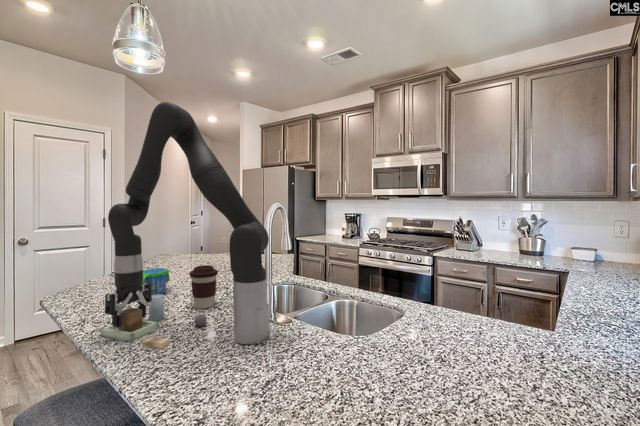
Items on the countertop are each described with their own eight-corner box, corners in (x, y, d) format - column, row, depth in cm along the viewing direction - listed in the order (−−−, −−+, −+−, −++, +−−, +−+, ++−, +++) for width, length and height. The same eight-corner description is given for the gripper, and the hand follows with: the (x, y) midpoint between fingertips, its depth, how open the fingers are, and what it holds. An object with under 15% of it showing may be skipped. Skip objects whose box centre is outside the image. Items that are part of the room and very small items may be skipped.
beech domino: (169, 345, 92) (169, 338, 92) (162, 350, 89) (162, 343, 89) (149, 344, 93) (149, 337, 93) (142, 348, 90) (142, 341, 90)
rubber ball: (208, 324, 107) (208, 313, 106) (201, 328, 103) (201, 317, 103) (199, 323, 108) (199, 312, 108) (192, 327, 104) (191, 316, 104)
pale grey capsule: (167, 318, 113) (166, 294, 112) (156, 322, 108) (155, 298, 108) (156, 316, 114) (156, 293, 114) (145, 321, 110) (145, 297, 110)
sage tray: (158, 328, 103) (158, 322, 103) (131, 341, 94) (130, 334, 94) (129, 324, 107) (129, 317, 107) (100, 335, 98) (100, 329, 98)
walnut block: (142, 328, 102) (142, 309, 102) (129, 333, 98) (129, 313, 98) (131, 326, 104) (130, 307, 103) (118, 331, 99) (117, 312, 99)
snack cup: (149, 300, 133) (149, 275, 133) (130, 297, 137) (129, 273, 136) (178, 290, 148) (178, 267, 147) (160, 288, 151) (159, 266, 151)
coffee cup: (184, 307, 123) (183, 268, 123) (205, 300, 132) (204, 263, 132) (203, 312, 119) (203, 270, 118) (223, 304, 128) (223, 265, 127)
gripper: (116, 275, 92) (118, 332, 93) (157, 265, 105) (158, 315, 106) (97, 273, 94) (98, 329, 95) (139, 264, 108) (140, 313, 108)
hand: (130, 322), depth 101 cm, fingers open, 8 cm apart
